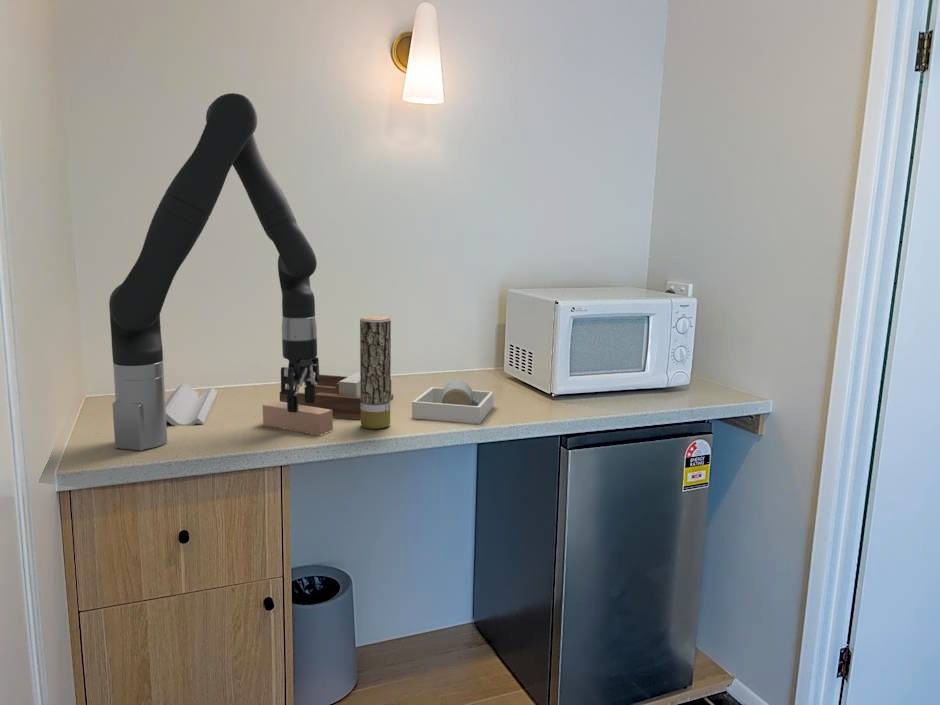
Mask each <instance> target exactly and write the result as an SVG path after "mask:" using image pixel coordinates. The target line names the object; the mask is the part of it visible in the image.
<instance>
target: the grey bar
mask: <svg viewBox="0 0 940 705" xmlns="http://www.w3.org/2000/svg"><path fill="white" fill-rule="evenodd" d="M346 377H347V378H345V379H343V380H341V381H339V396H346V397H359V398H360V370H359V371H357V372H354V373H353V374H351V375H349V376H346Z"/></svg>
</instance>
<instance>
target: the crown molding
mask: <svg viewBox="0 0 940 705" xmlns="http://www.w3.org/2000/svg"><path fill="white" fill-rule="evenodd" d="M198 392H199V391H196V390H195V389H194V388H193V387H192V386H191V385H189V384H188V383H187V382H182V383H181V384H180V385H179V386H178V387H177V388H175V389H174V390H173V391H172V393H171V394H169V396H170V397H169V396H168V397H169V398H168V397H167V399H166V400H167V401H166V400H165V407H166V424H167V423H169V424H170V425H172V426H173V425H183V426H194V425H195V424H199V425H204V424H205V422H206V419H207V417H208V414H209V412H210V410H211V408H212V406H213V404H214V400H215V398H216V397H217V394H218V392H219V391H218V390H217V389H215V388H214V387H213V386H211V387H210V389H207V390H206V391H204V393H203V392H202V393H203V394H202V396H200V397H198Z"/></svg>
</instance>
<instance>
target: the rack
mask: <svg viewBox="0 0 940 705" xmlns="http://www.w3.org/2000/svg"><path fill="white" fill-rule="evenodd" d="M347 377H348V376H345V375H344V376H341V375H329V374H319V378H320V380H319V382H316V386H315V402H314V403H306V402H305V392H298V394H297V396H298V404H299V405H305V406H311V407H318V408H324V409H330V410H332V415H333V418H342V419H354V420H361V406H360V402H361V401H360V398H359V397H346V396H339V381H341V380H343V379H345V378H347ZM393 399H394V394H392V393H391V400H393ZM279 401H280V402H287V395H283V394H281V391H279Z"/></svg>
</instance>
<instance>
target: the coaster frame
mask: <svg viewBox="0 0 940 705" xmlns="http://www.w3.org/2000/svg"><path fill="white" fill-rule="evenodd" d="M443 389H444V387H436V386H435V387H434V386H431V387H429V388H428V389H427V390H426V391H424V392H423V393H422V394H421V395H419V396H418V397H417V398H416V399H414V400H413V401H411V419H417V420H418V419H419V420H430V421H432V420H433V421H440V420H441V421H442V422H451V421H454V422H455V423H463V422H469V423H468V424H475V423H478V425H480V424H482V422H483V420H484V419H485V418H486V417H487V415H488V414H490V412H491V411H492V409H494V404H495V402H494V401H495V400H494V399H495V398H494V397H495V392H494V391H488V390H487V391H486V390H475V389H474V390H473V389H472V393H473V398H472V399H473V400H475V401H477V402H479V403H480V404H479V405H478V406H472V405H471V406H467V405H455V404H443V403H442V393H443ZM481 421H482V422H481Z"/></svg>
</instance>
